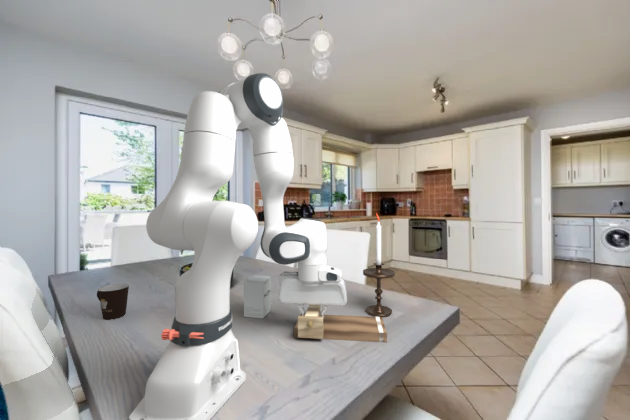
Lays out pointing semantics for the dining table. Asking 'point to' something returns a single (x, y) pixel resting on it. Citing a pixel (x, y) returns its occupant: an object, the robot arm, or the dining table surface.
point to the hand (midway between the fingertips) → (313, 318)
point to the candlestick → (378, 279)
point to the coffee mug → (113, 300)
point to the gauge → (311, 323)
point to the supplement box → (257, 296)
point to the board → (352, 328)
